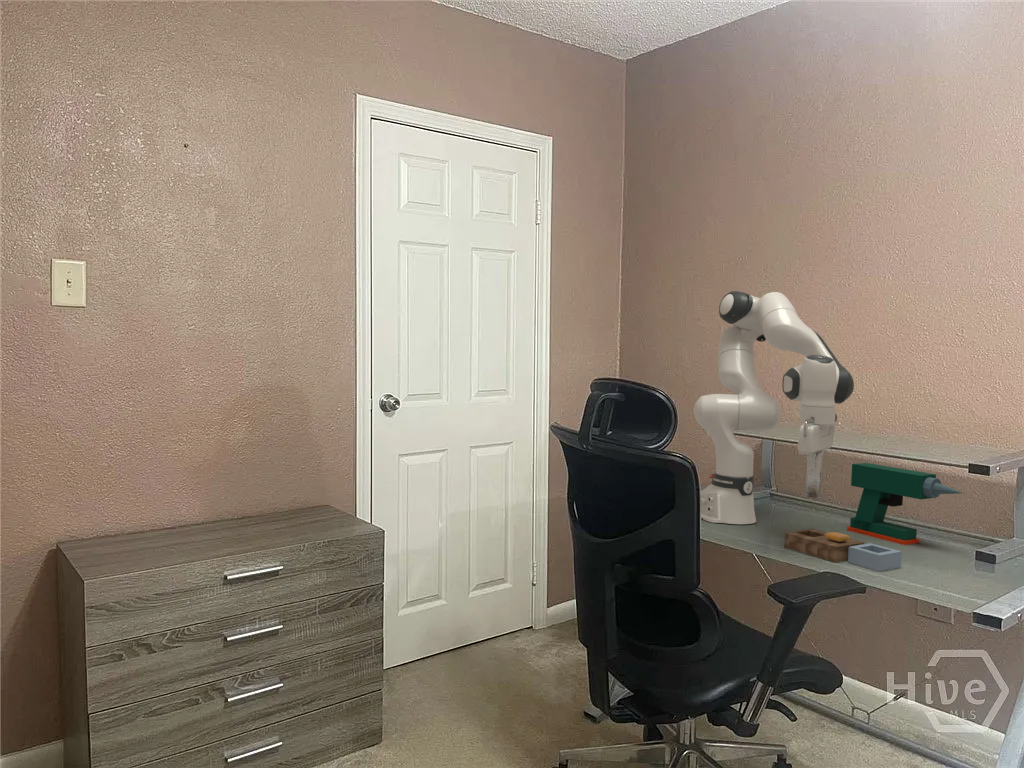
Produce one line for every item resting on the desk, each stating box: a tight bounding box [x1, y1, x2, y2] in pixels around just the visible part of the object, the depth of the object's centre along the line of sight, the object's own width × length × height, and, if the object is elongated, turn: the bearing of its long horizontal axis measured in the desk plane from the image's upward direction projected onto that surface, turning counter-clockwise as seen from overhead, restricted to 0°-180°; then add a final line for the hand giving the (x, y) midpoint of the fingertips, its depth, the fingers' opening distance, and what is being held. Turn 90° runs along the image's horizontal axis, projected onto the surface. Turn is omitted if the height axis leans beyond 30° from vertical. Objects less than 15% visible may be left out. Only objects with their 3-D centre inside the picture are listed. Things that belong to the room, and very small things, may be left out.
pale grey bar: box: [805, 452, 823, 499], centre depth 206 cm, size 4×4×12 cm
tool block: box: [784, 528, 865, 564], centre depth 204 cm, size 16×11×4 cm
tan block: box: [825, 531, 850, 543], centre depth 200 cm, size 4×4×5 cm
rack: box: [847, 543, 903, 573], centre depth 193 cm, size 9×9×4 cm
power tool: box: [846, 462, 963, 546], centre depth 217 cm, size 32×7×20 cm, turn 30°
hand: (814, 468), depth 206 cm, fingers closed on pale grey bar, 4 cm apart
